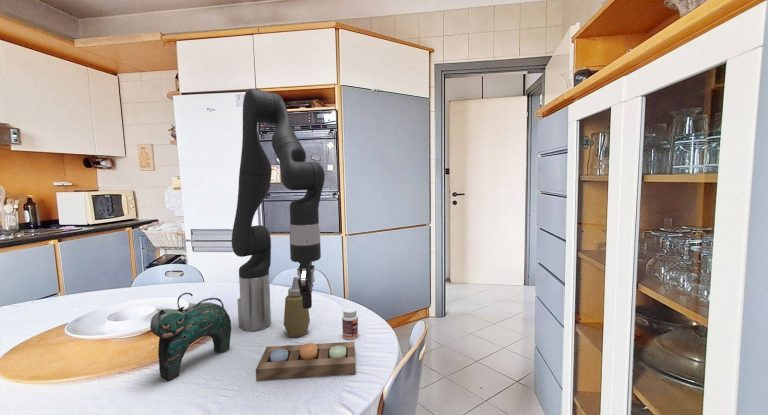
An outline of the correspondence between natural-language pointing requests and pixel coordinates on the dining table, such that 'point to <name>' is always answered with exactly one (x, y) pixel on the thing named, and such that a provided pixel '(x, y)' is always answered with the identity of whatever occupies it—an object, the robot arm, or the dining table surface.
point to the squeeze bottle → (295, 312)
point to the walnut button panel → (306, 363)
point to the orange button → (308, 351)
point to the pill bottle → (350, 323)
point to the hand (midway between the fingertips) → (307, 307)
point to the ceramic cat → (188, 332)
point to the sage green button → (337, 352)
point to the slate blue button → (279, 355)
